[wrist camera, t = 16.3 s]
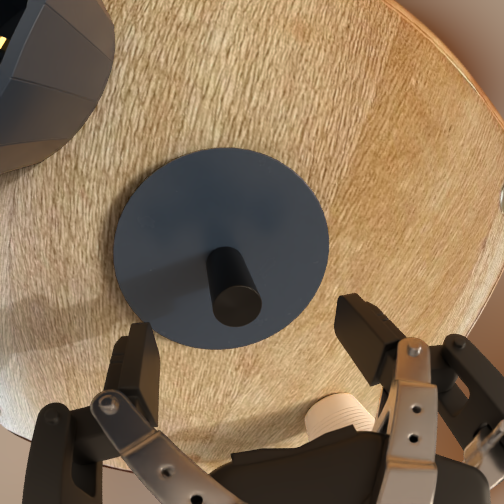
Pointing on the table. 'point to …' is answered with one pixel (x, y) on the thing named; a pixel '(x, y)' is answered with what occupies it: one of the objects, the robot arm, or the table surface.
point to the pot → (50, 74)
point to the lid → (221, 248)
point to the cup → (337, 415)
